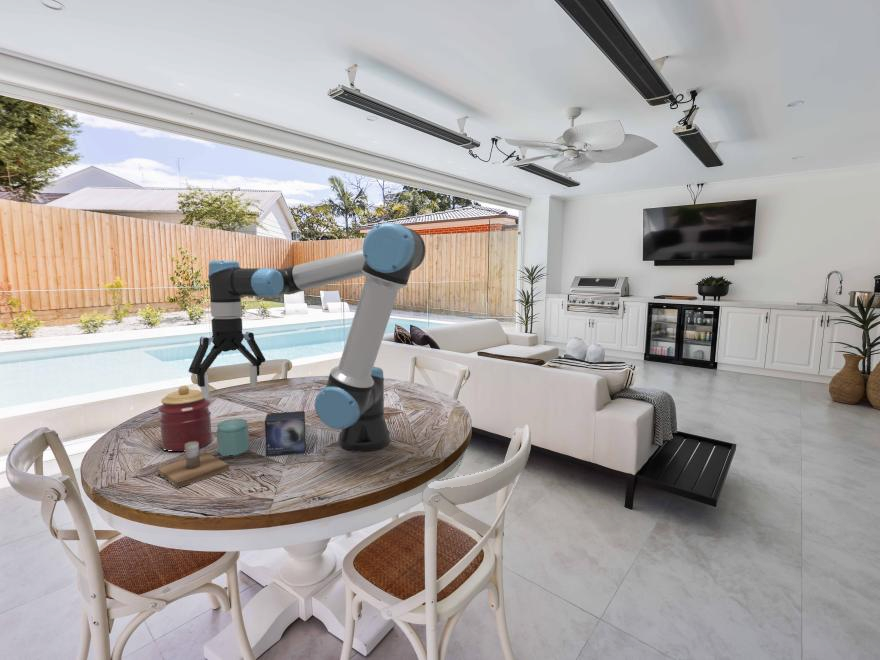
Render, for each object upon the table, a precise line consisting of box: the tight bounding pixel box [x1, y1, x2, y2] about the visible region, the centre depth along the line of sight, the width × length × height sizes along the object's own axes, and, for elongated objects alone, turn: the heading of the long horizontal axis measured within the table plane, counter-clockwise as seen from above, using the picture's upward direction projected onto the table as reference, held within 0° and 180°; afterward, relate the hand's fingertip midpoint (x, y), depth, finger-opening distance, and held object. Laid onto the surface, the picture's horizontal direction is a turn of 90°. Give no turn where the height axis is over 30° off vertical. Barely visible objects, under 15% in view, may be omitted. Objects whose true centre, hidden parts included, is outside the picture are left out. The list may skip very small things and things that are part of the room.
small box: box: [264, 410, 307, 457], centre depth 120 cm, size 11×6×10 cm, turn 106°
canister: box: [157, 385, 213, 452], centre depth 123 cm, size 13×13×18 cm
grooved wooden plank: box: [156, 441, 230, 488], centre depth 106 cm, size 12×12×8 cm
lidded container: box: [216, 418, 250, 457], centre depth 120 cm, size 8×8×8 cm
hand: (230, 392), depth 119 cm, fingers open, 13 cm apart
